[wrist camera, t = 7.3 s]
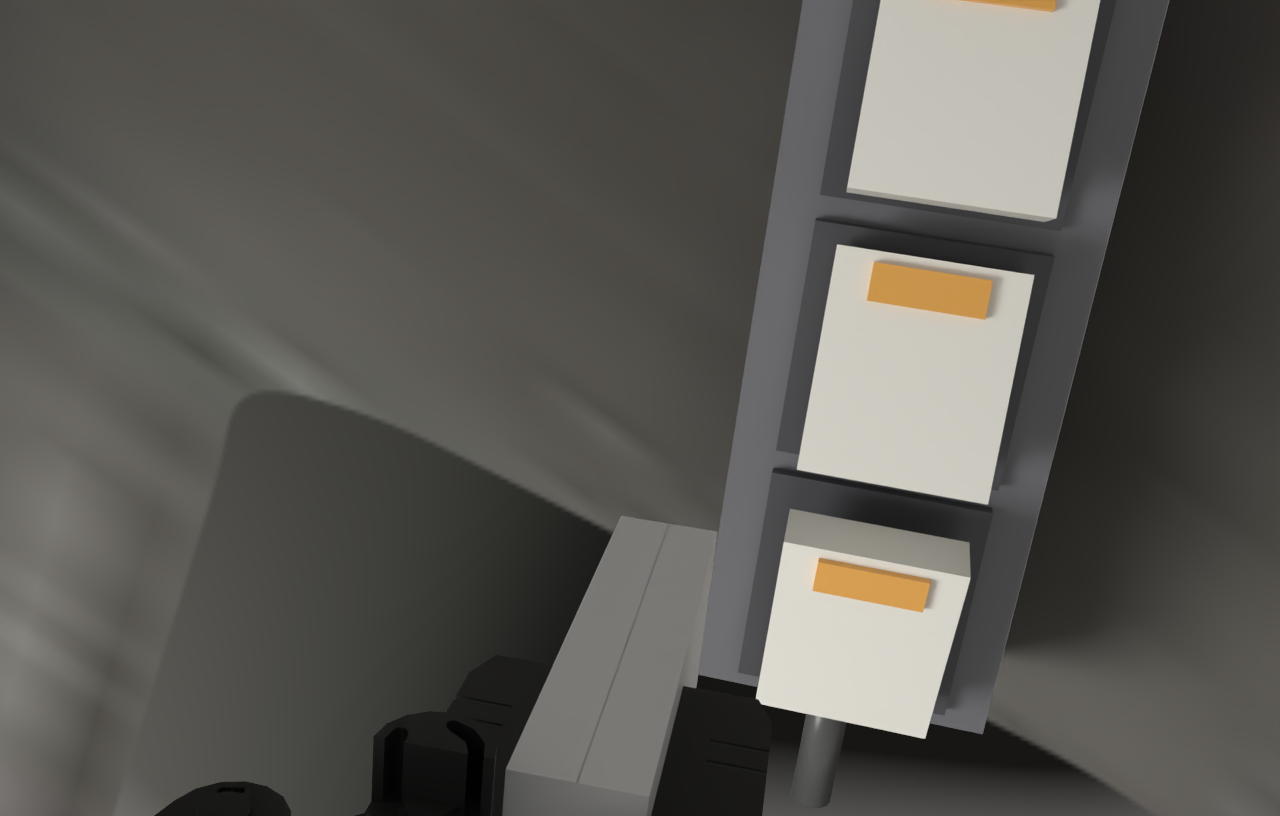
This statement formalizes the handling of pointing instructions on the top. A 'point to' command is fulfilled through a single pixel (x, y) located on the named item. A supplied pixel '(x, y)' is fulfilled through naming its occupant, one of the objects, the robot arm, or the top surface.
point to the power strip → (791, 329)
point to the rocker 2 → (914, 373)
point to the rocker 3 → (862, 622)
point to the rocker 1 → (973, 103)
